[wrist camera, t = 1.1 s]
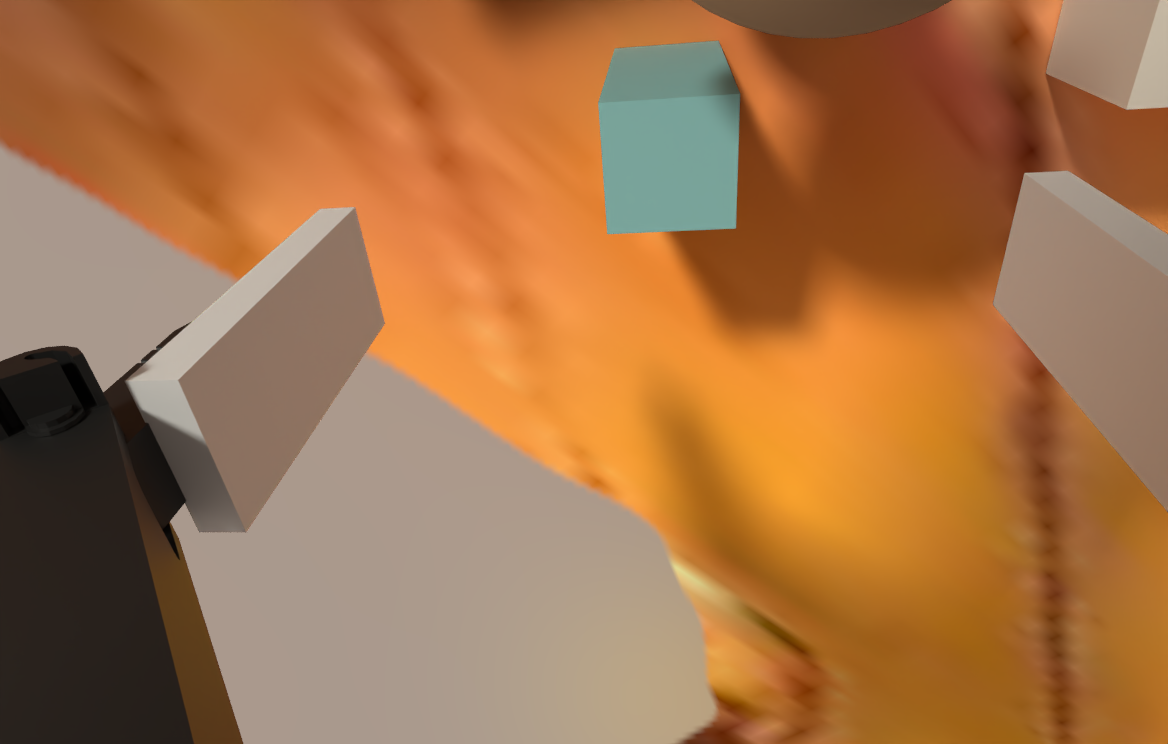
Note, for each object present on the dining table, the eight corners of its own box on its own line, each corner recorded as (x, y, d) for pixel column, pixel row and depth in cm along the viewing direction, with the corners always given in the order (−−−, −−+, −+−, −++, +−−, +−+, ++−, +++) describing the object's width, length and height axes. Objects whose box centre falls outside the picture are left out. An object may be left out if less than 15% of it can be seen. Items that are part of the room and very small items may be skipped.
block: (614, 48, 25) (598, 102, 18) (718, 40, 25) (740, 93, 18) (620, 150, 27) (607, 234, 20) (716, 145, 26) (735, 228, 20)
